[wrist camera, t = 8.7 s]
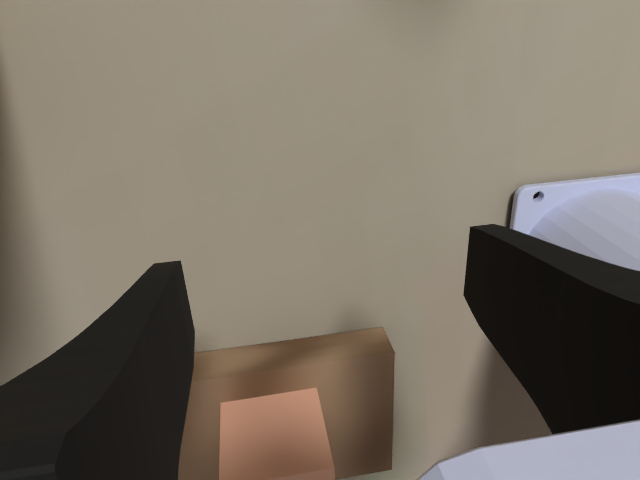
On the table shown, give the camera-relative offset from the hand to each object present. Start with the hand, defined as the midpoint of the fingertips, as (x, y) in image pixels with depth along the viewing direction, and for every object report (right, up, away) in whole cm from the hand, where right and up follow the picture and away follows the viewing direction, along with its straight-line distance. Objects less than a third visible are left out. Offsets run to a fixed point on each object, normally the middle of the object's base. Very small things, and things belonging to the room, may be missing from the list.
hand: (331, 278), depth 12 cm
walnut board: (-3, -8, +14) cm, 16 cm away
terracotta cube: (-3, -8, +12) cm, 15 cm away
